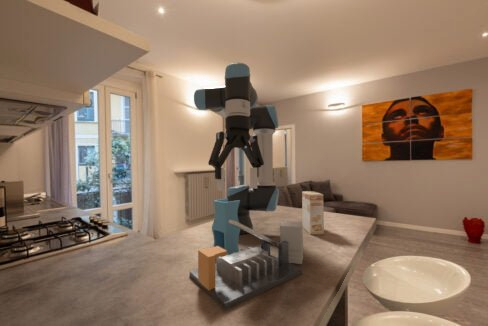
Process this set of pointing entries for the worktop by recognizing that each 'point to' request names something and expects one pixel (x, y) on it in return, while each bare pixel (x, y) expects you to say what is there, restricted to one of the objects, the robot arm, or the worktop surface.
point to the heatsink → (249, 273)
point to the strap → (254, 233)
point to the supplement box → (293, 240)
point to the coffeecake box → (313, 212)
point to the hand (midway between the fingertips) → (238, 189)
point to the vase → (226, 225)
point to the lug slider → (208, 265)
